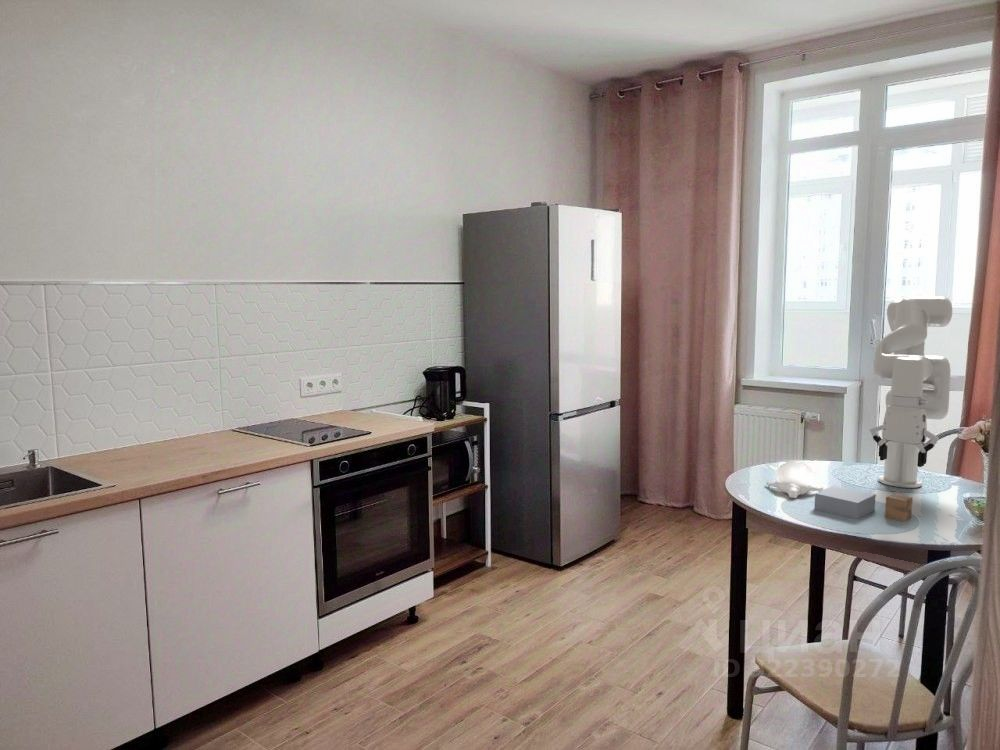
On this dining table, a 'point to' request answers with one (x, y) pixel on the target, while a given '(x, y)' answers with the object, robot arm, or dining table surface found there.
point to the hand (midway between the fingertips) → (901, 462)
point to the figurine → (794, 478)
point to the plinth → (845, 502)
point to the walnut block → (898, 507)
